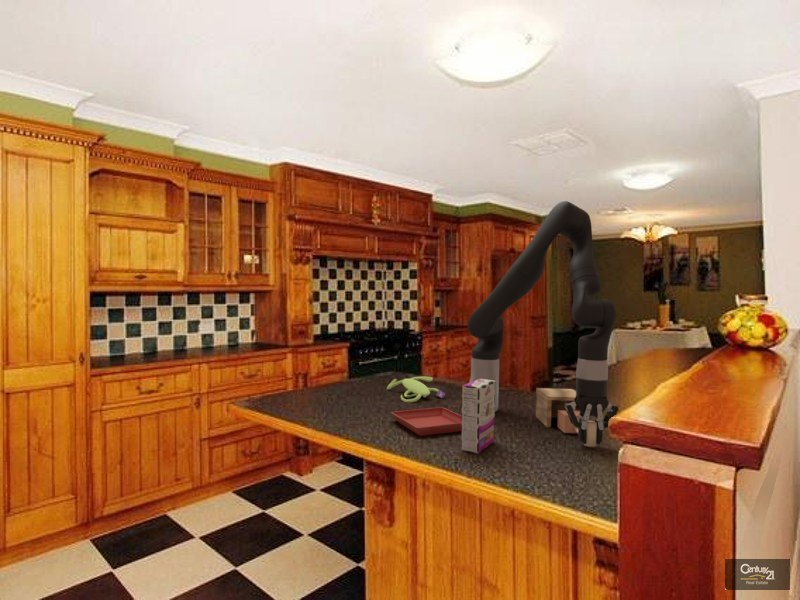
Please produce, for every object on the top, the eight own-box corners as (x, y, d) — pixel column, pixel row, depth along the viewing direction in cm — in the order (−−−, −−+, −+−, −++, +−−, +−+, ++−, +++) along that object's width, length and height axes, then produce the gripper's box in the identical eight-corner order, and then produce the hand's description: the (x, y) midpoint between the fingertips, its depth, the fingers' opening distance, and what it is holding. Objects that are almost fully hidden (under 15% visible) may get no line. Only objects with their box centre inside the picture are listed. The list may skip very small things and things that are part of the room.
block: (580, 446, 120) (581, 423, 120) (557, 426, 138) (557, 406, 138) (604, 447, 120) (604, 423, 120) (577, 427, 138) (578, 407, 138)
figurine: (427, 386, 195) (428, 373, 195) (453, 401, 169) (453, 386, 169) (384, 388, 190) (384, 374, 189) (403, 404, 164) (404, 388, 164)
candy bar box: (477, 438, 126) (478, 377, 126) (494, 442, 124) (496, 380, 123) (459, 450, 117) (461, 384, 116) (478, 454, 114) (480, 387, 114)
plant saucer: (390, 421, 142) (390, 410, 142) (442, 416, 149) (442, 406, 149) (416, 440, 125) (417, 427, 125) (474, 433, 133) (474, 421, 133)
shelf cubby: (546, 427, 139) (547, 396, 139) (535, 416, 151) (536, 388, 151) (585, 428, 139) (586, 397, 139) (571, 417, 151) (572, 389, 151)
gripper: (569, 378, 118) (568, 447, 118) (626, 379, 118) (624, 448, 118) (559, 373, 125) (558, 438, 126) (612, 374, 125) (610, 439, 125)
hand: (590, 442), depth 122 cm, fingers closed on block, 3 cm apart
